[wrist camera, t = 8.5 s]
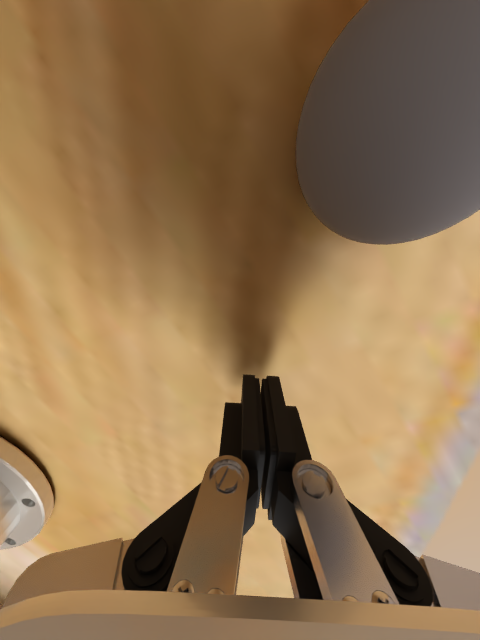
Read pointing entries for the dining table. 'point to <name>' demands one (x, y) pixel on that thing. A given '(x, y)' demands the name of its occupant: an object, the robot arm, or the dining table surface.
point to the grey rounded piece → (395, 122)
